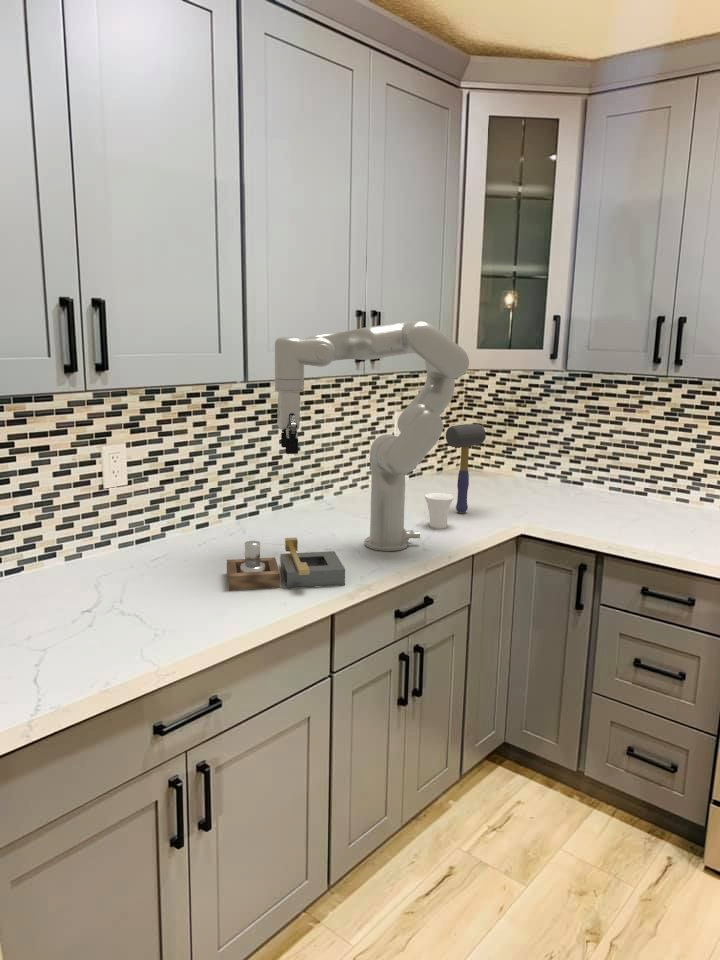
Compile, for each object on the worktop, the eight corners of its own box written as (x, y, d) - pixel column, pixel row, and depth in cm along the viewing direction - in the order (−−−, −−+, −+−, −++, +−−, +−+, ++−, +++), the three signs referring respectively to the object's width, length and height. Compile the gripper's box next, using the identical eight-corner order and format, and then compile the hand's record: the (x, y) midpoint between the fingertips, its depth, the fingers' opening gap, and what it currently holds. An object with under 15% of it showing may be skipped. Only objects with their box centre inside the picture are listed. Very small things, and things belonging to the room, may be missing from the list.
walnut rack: (274, 570, 181) (274, 557, 180) (280, 587, 170) (280, 573, 169) (226, 573, 179) (226, 559, 178) (229, 590, 167) (228, 576, 166)
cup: (457, 529, 220) (459, 497, 218) (429, 530, 218) (430, 499, 216) (447, 521, 229) (448, 491, 227) (419, 522, 227) (420, 492, 224)
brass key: (298, 548, 185) (298, 537, 184) (309, 574, 166) (309, 562, 166) (284, 549, 184) (284, 538, 184) (295, 575, 166) (295, 563, 165)
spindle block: (334, 565, 186) (334, 551, 185) (345, 585, 172) (345, 569, 171) (280, 568, 182) (280, 553, 182) (287, 588, 169) (287, 572, 168)
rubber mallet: (454, 517, 233) (459, 426, 227) (440, 512, 239) (444, 423, 233) (482, 512, 240) (488, 424, 233) (468, 507, 246) (472, 421, 240)
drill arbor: (264, 575, 178) (263, 538, 176) (266, 583, 172) (266, 546, 170) (239, 576, 176) (239, 539, 174) (241, 585, 171) (240, 547, 169)
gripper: (271, 382, 193) (271, 445, 197) (278, 388, 177) (279, 456, 180) (299, 382, 195) (299, 444, 199) (308, 388, 178) (308, 456, 182)
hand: (289, 450), depth 189 cm, fingers open, 9 cm apart
